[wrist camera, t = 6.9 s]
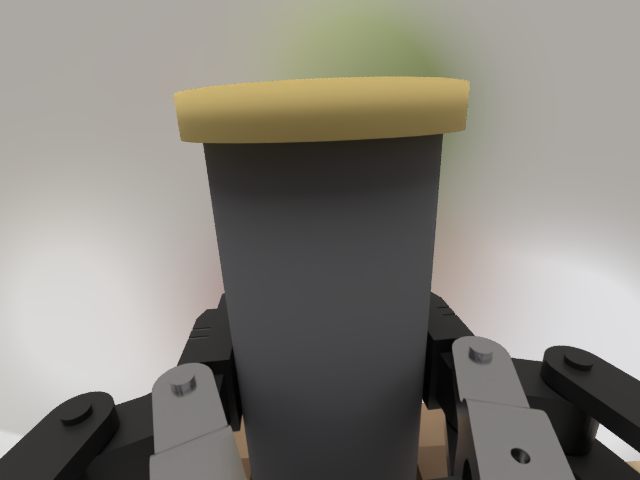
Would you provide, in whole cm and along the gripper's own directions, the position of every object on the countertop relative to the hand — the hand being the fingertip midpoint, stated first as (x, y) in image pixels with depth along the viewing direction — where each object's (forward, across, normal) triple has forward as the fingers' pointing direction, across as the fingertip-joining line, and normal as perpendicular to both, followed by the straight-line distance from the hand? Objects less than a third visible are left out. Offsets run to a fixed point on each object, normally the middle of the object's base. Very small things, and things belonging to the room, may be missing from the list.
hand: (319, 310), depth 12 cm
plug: (-3, 0, +8) cm, 8 cm away
